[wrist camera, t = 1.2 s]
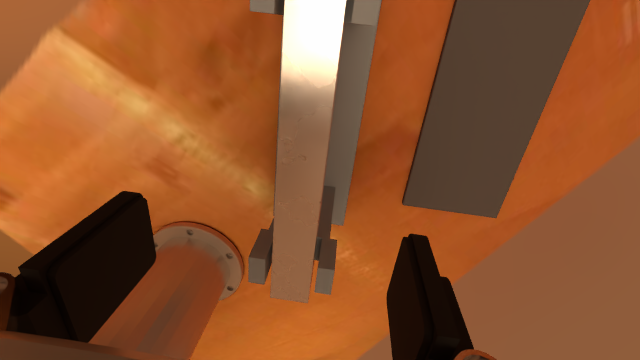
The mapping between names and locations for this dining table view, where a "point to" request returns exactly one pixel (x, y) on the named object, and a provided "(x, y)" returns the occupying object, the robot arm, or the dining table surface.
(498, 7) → the mat
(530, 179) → the dining table surface
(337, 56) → the rail
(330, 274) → the rack
